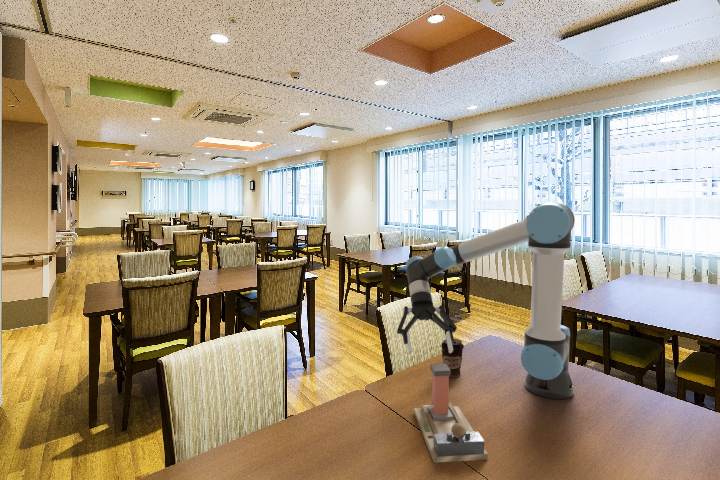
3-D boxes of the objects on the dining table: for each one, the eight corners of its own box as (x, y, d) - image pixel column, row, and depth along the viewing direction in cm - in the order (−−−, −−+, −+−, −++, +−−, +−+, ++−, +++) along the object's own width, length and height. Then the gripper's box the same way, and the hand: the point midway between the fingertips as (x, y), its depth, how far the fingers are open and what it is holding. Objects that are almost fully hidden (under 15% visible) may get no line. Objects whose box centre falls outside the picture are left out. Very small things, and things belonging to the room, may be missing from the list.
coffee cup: (464, 380, 139) (464, 346, 138) (441, 378, 141) (441, 344, 140) (462, 370, 148) (463, 337, 147) (440, 368, 150) (441, 336, 148)
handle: (446, 407, 118) (446, 362, 117) (453, 419, 111) (453, 372, 110) (421, 408, 118) (421, 363, 116) (427, 421, 111) (427, 373, 110)
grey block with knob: (478, 444, 100) (478, 427, 100) (483, 454, 96) (484, 436, 96) (433, 446, 99) (433, 429, 99) (437, 456, 95) (437, 439, 95)
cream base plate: (458, 410, 119) (458, 402, 119) (487, 459, 96) (487, 449, 96) (414, 412, 118) (414, 404, 118) (433, 462, 96) (433, 452, 95)
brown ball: (462, 432, 99) (463, 419, 99) (467, 441, 96) (468, 427, 95) (449, 433, 99) (449, 420, 99) (453, 442, 96) (454, 428, 95)
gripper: (452, 300, 141) (465, 355, 127) (385, 301, 139) (391, 358, 125) (457, 289, 135) (471, 346, 121) (387, 291, 133) (394, 348, 120)
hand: (430, 352), depth 123 cm, fingers open, 13 cm apart
